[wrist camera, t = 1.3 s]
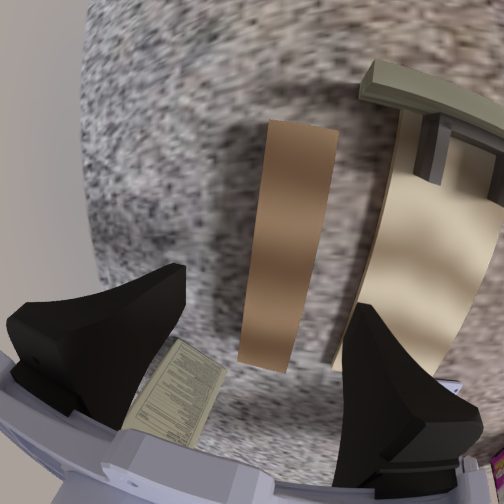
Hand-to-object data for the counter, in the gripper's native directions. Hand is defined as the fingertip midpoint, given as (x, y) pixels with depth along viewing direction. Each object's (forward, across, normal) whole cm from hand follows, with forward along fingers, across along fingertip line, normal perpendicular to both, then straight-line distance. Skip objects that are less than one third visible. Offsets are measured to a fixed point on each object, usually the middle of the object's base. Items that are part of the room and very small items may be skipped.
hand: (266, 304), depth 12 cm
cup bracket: (+10, -11, +1) cm, 15 cm away
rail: (+11, 0, +2) cm, 11 cm away
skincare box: (+10, +7, +17) cm, 21 cm away
